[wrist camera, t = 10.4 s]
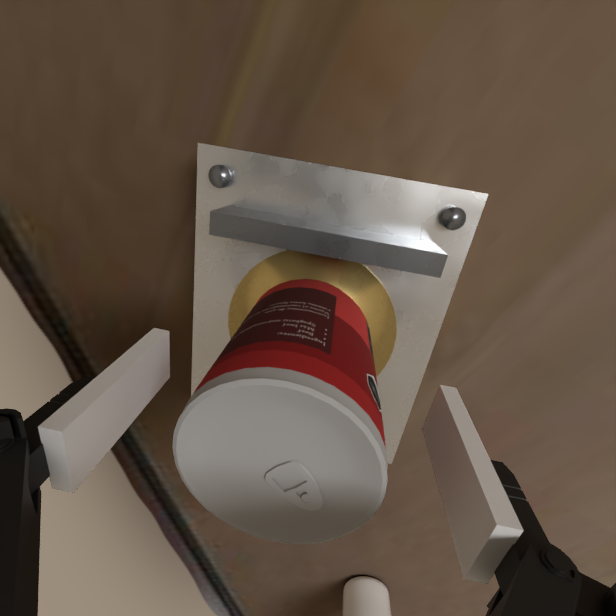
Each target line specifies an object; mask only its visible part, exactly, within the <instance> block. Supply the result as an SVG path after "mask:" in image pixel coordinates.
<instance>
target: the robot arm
mask: <svg viewBox="0 0 616 616" xmlns="http://www.w3.org/2000/svg"><path fill="white" fill-rule="evenodd" d="M169 378H170V344H169V331H167V330H162V329H157V328H153V329H152V330H151V331H150V332H149V333H147V334H146V335H145V336H144V337H143V338H141V339H140V340H139V341H138V342H137V343H136V344H134V345H133V346H132V347H131V348H130V349H129V350H127V351H126V352H125V353H124V354H123V355H122V356H120V357H119V358H118V359H117V360H116V361H114V362H113V363H112V364H111V365H110V366H109V367H107V368H106V369H105V370H104V371H103V372H102V373H100V374H99V375H98V376H97V377H96V378H94V379H92V378H87V377H84V378H82V379H80V380H78V381H76V382H73V383H71V384H70V385H68V386H67V387H66V388H65V389H63V390H62V391H61V392H60V393H59V395H58V394H57V395H56V396H55V397H53V398H52V399H51V400H50V402H47V403H46V404H45V405H43V406H42V407H41V408H40V409H38V410H37V411H36V412H35V413H33V414H32V415H31V416H30V417H29V418H27V419H26V420H25V421H23V419H22V416H21V413H20V412H18V411H17V410H14V409H0V616H37V612H38V581H39V548H40V515H41V490H40V486H41V485H42V483H43V482H44V481H45V480H46V479H47V478H48V477H50V481H51V486H52V488H54V489H58V490H62V491H67V492H72V493H74V492H75V491H76V490H77V489H78V487H79V486H80V485H81V484H82V482H83V481H84V480H85V479H86V478H87V476H88V475H89V474H90V473H91V472H92V470H93V469H94V468H95V467H96V466H97V464H98V463H99V462H100V461H101V460H102V458H103V457H104V456H105V455H106V454H107V452H108V451H109V450H110V449H111V448H112V446H113V445H114V444H115V443H116V442H117V440H118V439H119V438H120V437H121V436H122V434H123V433H124V432H125V431H126V430H127V428H128V427H129V426H130V425H131V424H132V422H133V421H134V420H135V419H136V418H137V416H138V415H139V414H140V413H141V412H142V410H143V409H144V408H145V407H146V405H147V404H148V403H149V402H150V401H151V399H152V398H153V397H154V396H155V395H156V393H157V392H158V391H159V390H160V389H161V387H162V386H163V385H164V384H165V383H166V381H167V380H168V379H169ZM422 430H423V433H424V437H425V440H426V444H427V448H428V451H429V455H430V459H431V462H432V466H433V470H434V473H435V477H436V481H437V484H438V488H439V492H440V495H441V499H442V502H443V506H444V510H445V513H446V517H447V521H448V524H449V528H450V532H451V535H452V539H453V543H454V546H455V550H456V554H457V557H458V561H459V564H460V568H461V572H462V575H463V579H466V580H471V581H475V582H480V583H484V584H488V582H489V581H490V579H491V578H492V577H493V575H494V574H495V575H496V578H497V581H498V584H499V587H500V588H499V589H498V591H497V592H496V594H495V595H494V596H493V598H492V599H491V601H490V602H489V603H488V605H487V607H488V608H489V609H488V612H487V614H486V616H616V583H615V584H614V585H613V586H612V587H611V588H609V587H607V586H605V585H603V584H601V583H600V582H598V581H596V580H594V579H592V578H590V577H588V576H586V575H584V574H582V573H580V572H579V571H578V569H577V567H576V566H575V564H574V563H573V562H572V561H571V559H570V558H569V557H568V556H567V555H566V554H565V553H564V552H562V551H561V550H560V549H559V548H557V547H555V546H554V545H552V544H550V542H549V541H548V539H547V537H546V535H545V533H544V531H543V529H542V527H541V525H540V524H539V522H538V520H537V518H536V516H535V514H534V512H533V510H532V508H531V506H530V505H529V503H528V502H527V501H526V497H525V495H524V493H523V491H521V487H520V486H519V484H518V482H517V480H516V478H515V476H514V475H513V473H512V472H511V471H510V470H509V469H508V468H507V467H506V466H505V465H504V464H503V462H498V461H493V460H490V458H489V456H488V454H487V452H486V450H485V448H484V446H483V444H482V441H481V439H480V437H479V435H478V433H477V431H476V429H475V427H474V425H473V422H472V420H471V418H470V416H469V414H468V412H467V410H466V408H465V406H464V403H463V401H462V399H461V397H460V395H459V393H458V391H457V389H456V388H454V387H449V386H444V385H440V386H439V388H438V391H437V393H436V396H435V398H434V401H433V403H432V406H431V408H430V411H429V413H428V416H427V418H426V421H425V423H424V426H423V428H422Z"/></svg>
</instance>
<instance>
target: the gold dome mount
mask: <svg viewBox="0 0 616 616" xmlns="http://www.w3.org/2000/svg"><path fill="white" fill-rule="evenodd" d="M487 197H488V194H485V193H479V192H474V191H468V190H463V189H457V188H452V187H446V186H440V185H435V184H429V183H423V182H418V181H412V180H406V179H401V178H395V177H389V176H384V175H378V174H372V173H367V172H361V171H355V170H350V169H344V168H338V167H333V166H327V165H321V164H316V163H310V162H304V161H299V160H293V159H287V158H282V157H276V156H270V155H265V154H259V153H253V152H248V151H242V150H236V149H231V148H225V147H219V146H213V145H208V144H202V143H198V155H197V192H196V230H195V267H194V305H193V342H192V380H191V396H192V395H193V393H194V392H195V390H196V388H197V387H198V385H199V384H200V382H201V381H202V379H203V378H204V377H205V375H206V374H207V372H208V371H209V370H210V368H211V367H212V365H213V364H214V362H215V361H216V360H217V358H218V357H219V355H220V354H221V352H222V351H223V350H224V348H225V347H226V345H227V344H228V342H229V341H230V340H231V338H232V337H233V335H234V334H235V333H236V331H237V330H238V328H239V327H240V325H241V324H242V323H243V321H244V320H245V318H246V317H247V315H248V314H249V313H250V311H251V310H252V308H253V307H254V305H255V304H256V303H257V301H258V300H259V298H260V297H261V296H262V295H263V294H264V293H266V292H267V291H268V290H269V289H271V288H273V287H274V286H276V285H278V284H280V283H284V282H287V281H290V280H298V279H313V280H319V281H322V282H326V283H329V284H331V285H333V286H335V287H337V288H339V289H340V290H342V291H343V292H344V293H345V294H347V295H348V296H349V297H351V298H352V299H353V301H354V302H355V303H356V304H357V305H358V306H359V307H360V309H361V311H362V312H363V314H364V316H365V317H366V320H367V323H368V326H369V329H370V335H371V342H372V349H373V357H374V364H375V371H376V378H377V385H378V392H379V399H380V406H381V413H382V420H383V427H384V436H385V446H386V455H387V463H388V464H392V461H393V459H394V456H395V453H396V450H397V447H398V445H399V442H400V439H401V436H402V434H403V431H404V428H405V425H406V422H407V420H408V417H409V414H410V411H411V409H412V406H413V403H414V400H415V397H416V395H417V392H418V389H419V386H420V383H421V381H422V378H423V375H424V372H425V370H426V367H427V364H428V361H429V358H430V356H431V353H432V350H433V347H434V344H435V342H436V339H437V336H438V333H439V331H440V328H441V325H442V322H443V319H444V317H445V314H446V311H447V308H448V305H449V303H450V300H451V297H452V294H453V292H454V289H455V286H456V283H457V280H458V278H459V275H460V272H461V269H462V267H463V264H464V261H465V258H466V255H467V253H468V250H469V247H470V244H471V241H472V239H473V236H474V233H475V230H476V228H477V225H478V222H479V219H480V216H481V214H482V211H483V208H484V205H485V202H486V200H487Z"/></svg>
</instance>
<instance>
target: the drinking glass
mask: <svg viewBox="0 0 616 616" xmlns="http://www.w3.org/2000/svg"><path fill="white" fill-rule="evenodd" d="M342 616H391V609H390V599H389V593H388V590H387V588H386V586H385V585H384V584H383V583H382V582H381V581H379V580H377V579H375V578H372V577H368V576H359V577H354V578H352V579H350V580H349V581H348V582H347V583H346V584H345V586H344V589H343V614H342Z"/></svg>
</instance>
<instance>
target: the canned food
mask: <svg viewBox="0 0 616 616" xmlns="http://www.w3.org/2000/svg"><path fill="white" fill-rule="evenodd" d="M173 454H174V459H175V464H176V467H177V469H178V471H179V474H180V476H181V479H182V480H183V482H184V483H185V485H186V486H187V488H188V489H189V491H190V492H191V494H192V495H193V496H194V497H195V498H196V499H197V500H198V501H199V502H200V503H201V504H202V506H203V507H205V508H206V509H207V510H208V511H210V512H211V513H212V514H213V515H215V516H216V517H217V518H219V519H220V520H222V521H224V522H225V523H227V524H229V525H230V526H232V527H234V528H236V529H238V530H241V531H243V532H245V533H248V534H250V535H253V536H256V537H259V538H263V539H266V540H270V541H276V542H282V543H289V544H311V543H320V542H326V541H330V540H334V539H337V538H341V537H343V536H345V535H347V534H349V533H351V532H353V531H356V530H357V529H358V528H360V527H361V526H362V525H364V524H365V523H366V522H368V521H369V520H370V519H371V517H372V516H373V515H374V514H375V513H376V511H377V510H378V509H379V507H380V505H381V503H382V500H383V498H384V496H385V493H386V486H387V479H388V478H387V467H388V463H387V455H386V446H385V436H384V427H383V420H382V413H381V406H380V399H379V392H378V385H377V378H376V371H375V364H374V357H373V349H372V342H371V335H370V329H369V326H368V323H367V320H366V317H365V316H364V314H363V312H362V311H361V309H360V307H359V306H358V305H357V304H356V303H355V302H354V301H353V299H352V298H351V297H349V296H348V295H347V294H345V293H344V292H343V291H342V290H340V289H339V288H337V287H335V286H333V285H331V284H329V283H326V282H322V281H319V280H313V279H298V280H290V281H287V282H284V283H280V284H278V285H276V286H274V287H273V288H271V289H269V290H268V291H267V292H266V293H264V294H263V295H262V296H261V297H260V298H259V300H258V301H257V303H256V304H255V305H254V307H253V308H252V310H251V311H250V313H249V314H248V315H247V317H246V318H245V320H244V321H243V323H242V324H241V325H240V327H239V328H238V330H237V331H236V333H235V334H234V335H233V337H232V338H231V340H230V341H229V342H228V344H227V345H226V347H225V348H224V350H223V351H222V352H221V354H220V355H219V357H218V358H217V360H216V361H215V362H214V364H213V365H212V367H211V368H210V370H209V371H208V372H207V374H206V375H205V377H204V378H203V379H202V381H201V382H200V384H199V385H198V387H197V388H196V390H195V392H194V393H193V395H192V396H191V398H190V399H189V401H188V402H187V404H186V405H185V407H184V409H183V412H182V414H181V416H180V417H179V419H178V422H177V425H176V428H175V430H174V435H173Z"/></svg>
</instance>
